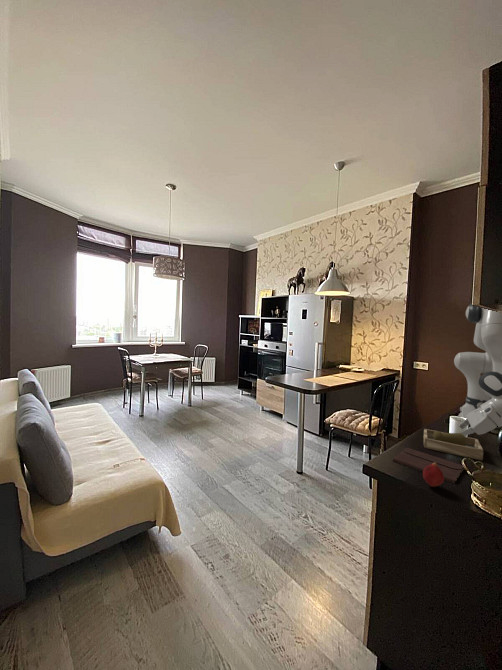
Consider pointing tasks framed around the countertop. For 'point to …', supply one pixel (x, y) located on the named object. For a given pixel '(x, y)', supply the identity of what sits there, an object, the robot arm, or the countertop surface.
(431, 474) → the onion
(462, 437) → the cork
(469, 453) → the tray
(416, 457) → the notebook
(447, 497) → the countertop surface
